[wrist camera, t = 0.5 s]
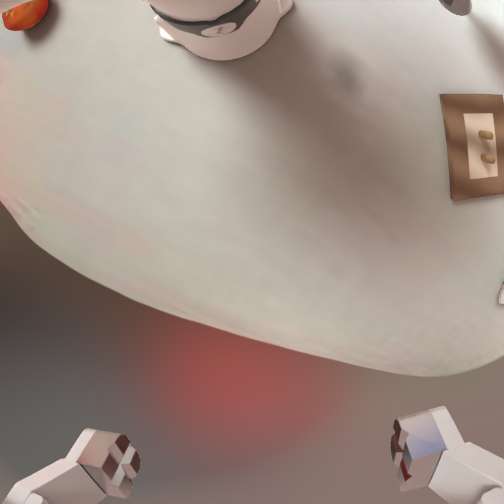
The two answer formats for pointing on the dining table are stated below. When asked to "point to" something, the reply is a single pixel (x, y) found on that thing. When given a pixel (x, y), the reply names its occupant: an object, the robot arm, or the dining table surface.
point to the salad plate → (501, 295)
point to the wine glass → (457, 6)
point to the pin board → (474, 144)
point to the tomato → (25, 15)
